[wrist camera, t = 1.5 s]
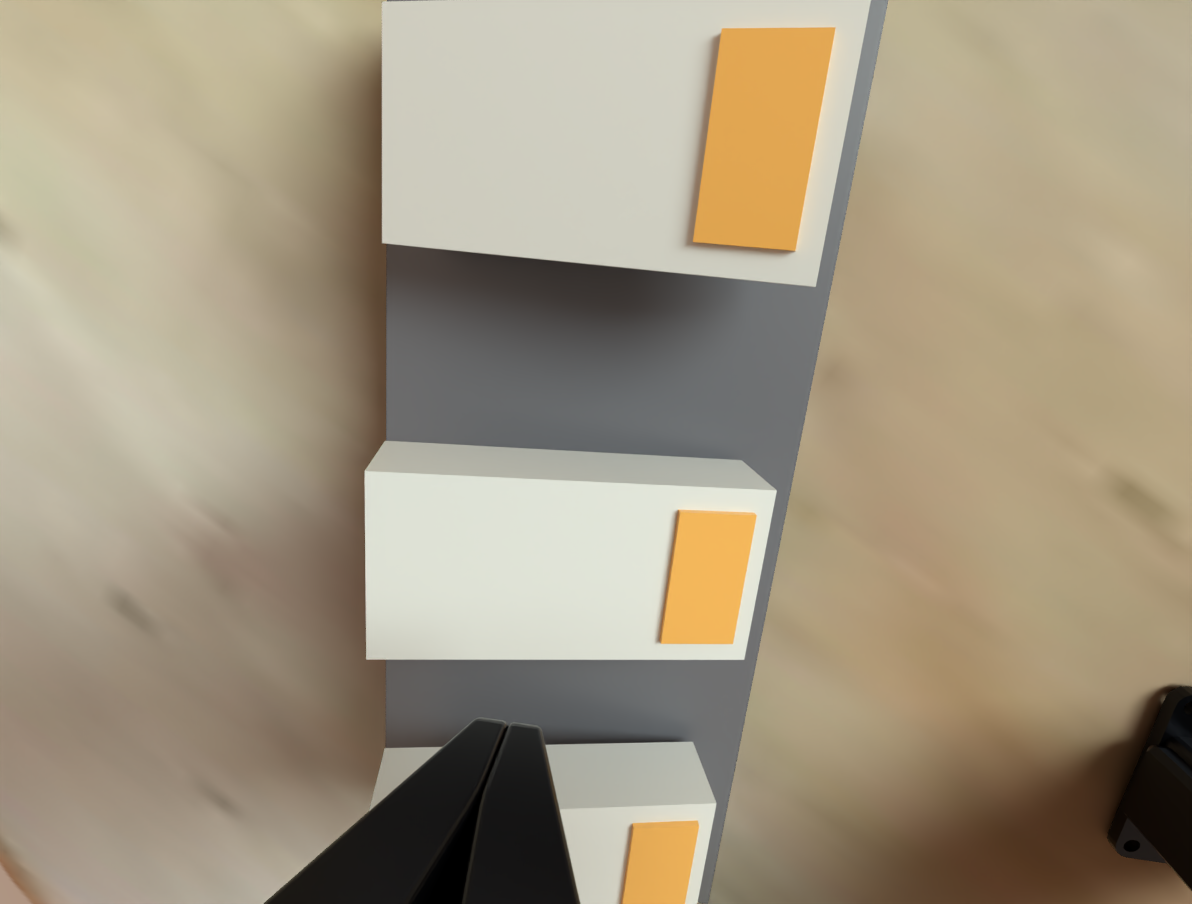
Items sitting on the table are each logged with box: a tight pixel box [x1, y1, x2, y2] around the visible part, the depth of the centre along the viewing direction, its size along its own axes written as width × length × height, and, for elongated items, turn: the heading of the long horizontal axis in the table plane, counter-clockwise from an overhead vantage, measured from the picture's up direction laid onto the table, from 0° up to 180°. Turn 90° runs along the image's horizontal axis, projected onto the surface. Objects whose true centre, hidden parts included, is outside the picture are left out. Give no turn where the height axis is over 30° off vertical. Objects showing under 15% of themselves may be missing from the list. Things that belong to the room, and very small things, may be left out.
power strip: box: [386, 0, 888, 904], centre depth 17 cm, size 10×30×4 cm, turn 174°
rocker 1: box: [382, 0, 871, 287], centre depth 11 cm, size 8×4×2 cm, turn 84°
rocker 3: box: [369, 742, 717, 904], centre depth 16 cm, size 8×4×2 cm, turn 85°
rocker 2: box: [365, 441, 777, 660], centre depth 13 cm, size 8×4×2 cm, turn 85°
